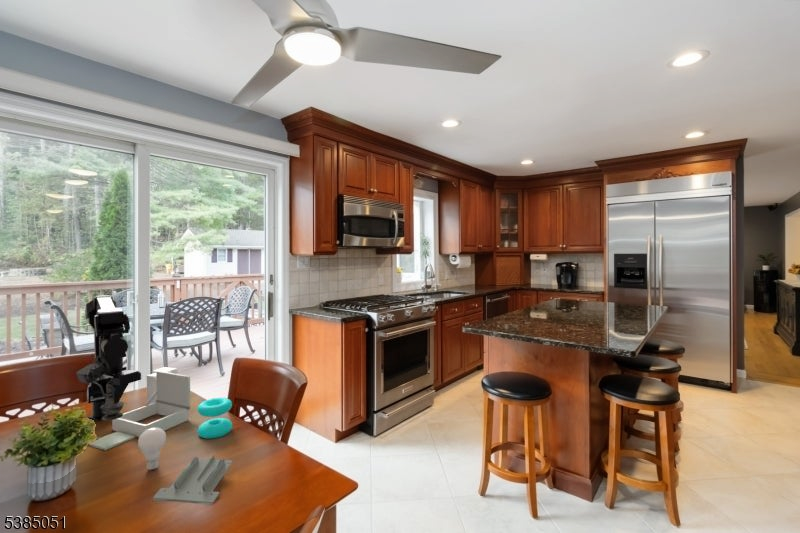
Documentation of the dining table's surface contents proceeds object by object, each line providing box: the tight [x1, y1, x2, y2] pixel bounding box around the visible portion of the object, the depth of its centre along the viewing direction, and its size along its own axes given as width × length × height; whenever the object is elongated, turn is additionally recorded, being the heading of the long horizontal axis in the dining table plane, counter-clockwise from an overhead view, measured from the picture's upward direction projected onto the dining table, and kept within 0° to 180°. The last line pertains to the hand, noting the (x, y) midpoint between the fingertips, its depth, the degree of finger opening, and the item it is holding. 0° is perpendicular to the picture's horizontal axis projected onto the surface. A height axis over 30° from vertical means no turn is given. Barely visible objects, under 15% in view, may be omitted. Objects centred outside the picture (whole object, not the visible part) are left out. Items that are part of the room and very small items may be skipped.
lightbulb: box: [137, 427, 167, 471], centre depth 102 cm, size 6×6×11 cm
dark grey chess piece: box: [100, 378, 125, 421], centre depth 117 cm, size 6×6×12 cm
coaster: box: [88, 431, 136, 451], centre depth 117 cm, size 8×8×1 cm
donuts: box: [197, 397, 233, 439], centre depth 123 cm, size 10×10×10 cm
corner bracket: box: [146, 366, 178, 404], centre depth 148 cm, size 11×11×12 cm
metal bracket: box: [152, 454, 233, 505], centre depth 95 cm, size 14×6×15 cm
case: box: [111, 371, 191, 438], centre depth 129 cm, size 16×16×15 cm
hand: (112, 402), depth 117 cm, fingers closed on dark grey chess piece, 3 cm apart
